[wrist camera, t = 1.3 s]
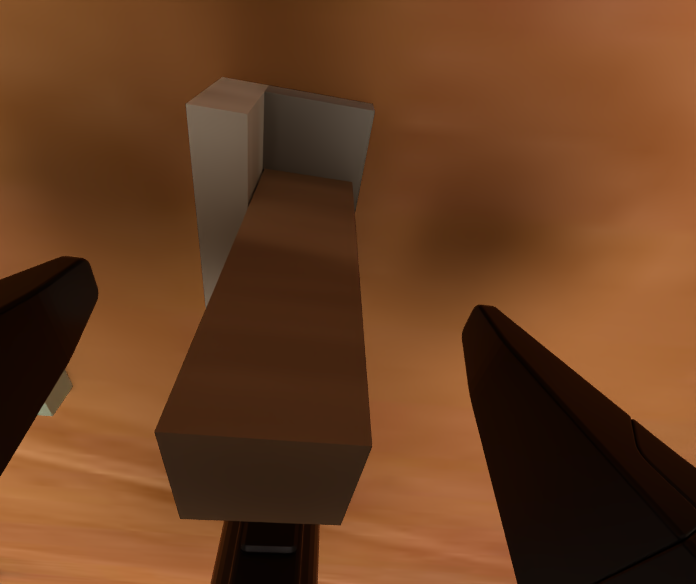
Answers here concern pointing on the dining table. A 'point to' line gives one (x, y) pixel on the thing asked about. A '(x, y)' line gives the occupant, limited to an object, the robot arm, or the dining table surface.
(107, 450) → the dining table surface
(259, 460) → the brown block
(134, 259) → the dining table surface
